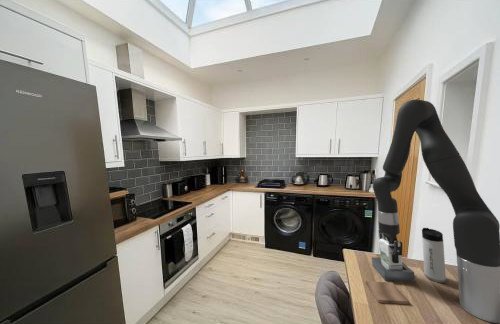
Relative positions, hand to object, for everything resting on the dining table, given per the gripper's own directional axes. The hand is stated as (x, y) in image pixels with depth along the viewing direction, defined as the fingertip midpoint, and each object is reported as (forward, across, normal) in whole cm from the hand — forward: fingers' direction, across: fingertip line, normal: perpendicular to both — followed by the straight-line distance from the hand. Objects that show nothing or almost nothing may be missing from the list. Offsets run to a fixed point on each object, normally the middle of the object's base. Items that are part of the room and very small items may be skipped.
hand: (390, 258), depth 80 cm
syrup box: (+7, 0, 0) cm, 7 cm away
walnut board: (+7, -13, +9) cm, 17 cm away
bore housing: (+7, 0, 0) cm, 7 cm away
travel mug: (+7, -2, -15) cm, 17 cm away
